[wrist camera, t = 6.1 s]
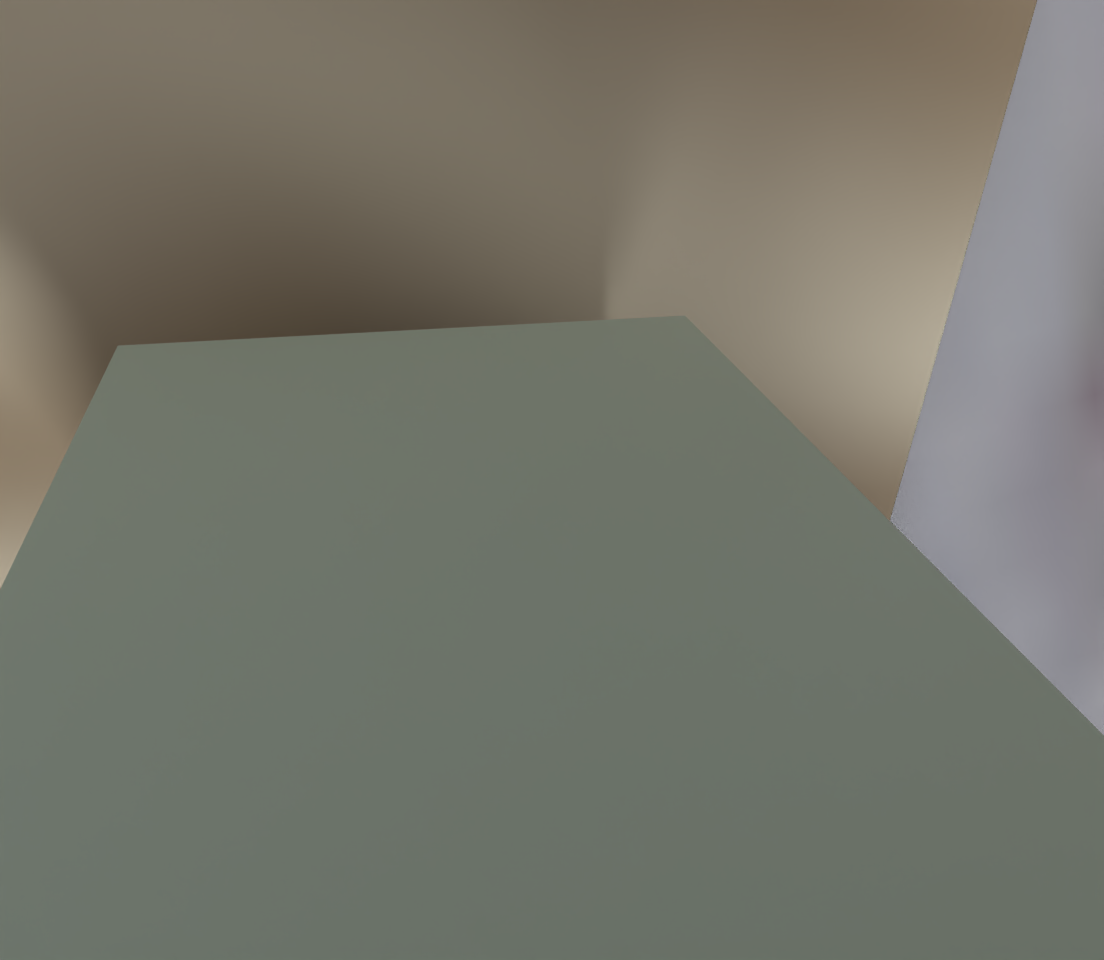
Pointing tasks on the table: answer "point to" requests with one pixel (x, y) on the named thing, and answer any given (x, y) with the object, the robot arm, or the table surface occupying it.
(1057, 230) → the table surface
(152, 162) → the post board
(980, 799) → the mint green box
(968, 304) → the table surface
